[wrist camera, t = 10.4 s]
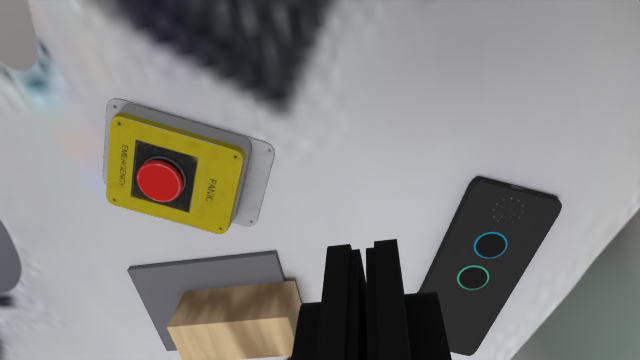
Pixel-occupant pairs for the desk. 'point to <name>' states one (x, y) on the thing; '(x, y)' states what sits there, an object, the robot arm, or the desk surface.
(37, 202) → the desk surface
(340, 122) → the desk surface
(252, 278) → the charcoal mat
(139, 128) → the emergency button
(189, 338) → the oak block
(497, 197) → the smart home device
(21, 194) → the desk surface
